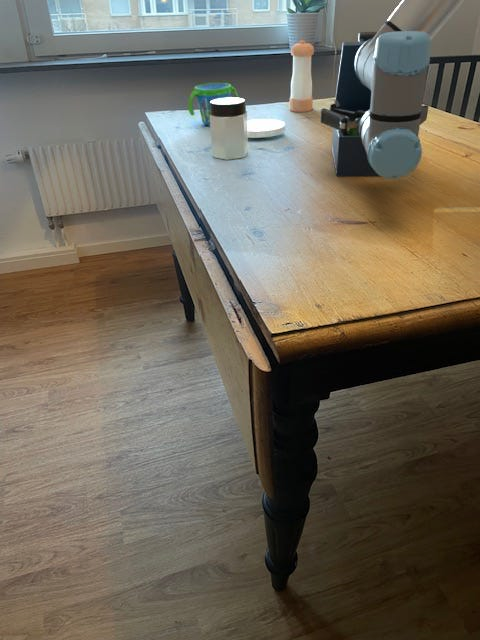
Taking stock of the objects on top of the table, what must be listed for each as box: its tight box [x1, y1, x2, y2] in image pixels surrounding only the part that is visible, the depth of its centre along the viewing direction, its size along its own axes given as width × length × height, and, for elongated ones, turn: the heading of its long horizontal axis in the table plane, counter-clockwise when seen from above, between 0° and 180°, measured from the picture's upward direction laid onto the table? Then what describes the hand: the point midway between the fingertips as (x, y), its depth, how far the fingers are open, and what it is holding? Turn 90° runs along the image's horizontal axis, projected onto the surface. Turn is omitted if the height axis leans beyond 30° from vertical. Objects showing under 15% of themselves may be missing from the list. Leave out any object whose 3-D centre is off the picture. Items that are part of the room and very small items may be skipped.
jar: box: [209, 97, 249, 161], centre depth 116 cm, size 9×8×12 cm
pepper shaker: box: [288, 39, 315, 113], centre depth 153 cm, size 7×7×19 cm
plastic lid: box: [247, 118, 286, 139], centre depth 133 cm, size 14×14×2 cm
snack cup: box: [187, 82, 239, 127], centre depth 144 cm, size 16×10×10 cm
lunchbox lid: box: [334, 31, 378, 112], centre depth 105 cm, size 21×13×5 cm
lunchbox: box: [331, 115, 381, 177], centre depth 109 cm, size 20×13×8 cm, turn 174°
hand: (369, 106), depth 104 cm, fingers open, 13 cm apart
